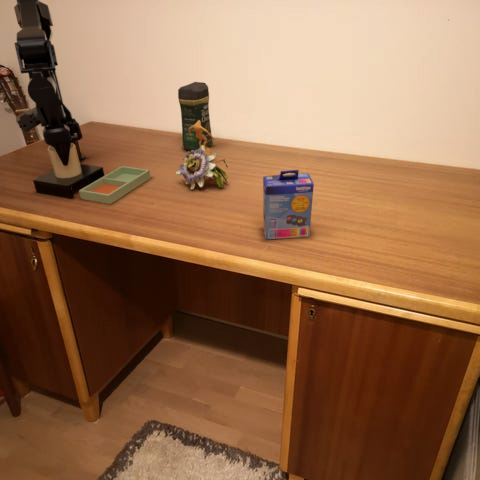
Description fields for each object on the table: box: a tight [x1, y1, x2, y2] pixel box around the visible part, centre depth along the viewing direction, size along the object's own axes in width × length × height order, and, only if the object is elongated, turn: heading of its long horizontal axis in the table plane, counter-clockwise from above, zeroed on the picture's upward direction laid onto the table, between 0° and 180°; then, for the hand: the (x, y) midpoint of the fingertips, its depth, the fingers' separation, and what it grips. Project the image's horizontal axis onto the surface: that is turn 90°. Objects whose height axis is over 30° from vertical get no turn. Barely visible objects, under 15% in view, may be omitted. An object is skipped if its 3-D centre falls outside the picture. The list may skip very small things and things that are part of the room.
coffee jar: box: [177, 81, 213, 152], centre depth 142 cm, size 10×8×19 cm
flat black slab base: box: [32, 163, 106, 200], centre depth 125 cm, size 14×12×4 cm
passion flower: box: [175, 145, 229, 191], centre depth 121 cm, size 11×11×12 cm
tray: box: [78, 165, 152, 205], centre depth 123 cm, size 18×9×2 cm, turn 155°
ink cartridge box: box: [262, 169, 315, 241], centre depth 96 cm, size 10×6×14 cm, turn 95°
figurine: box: [189, 120, 215, 155], centre depth 133 cm, size 8×6×12 cm
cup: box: [46, 143, 82, 178], centre depth 122 cm, size 7×7×7 cm
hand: (64, 159), depth 122 cm, fingers open, 9 cm apart
